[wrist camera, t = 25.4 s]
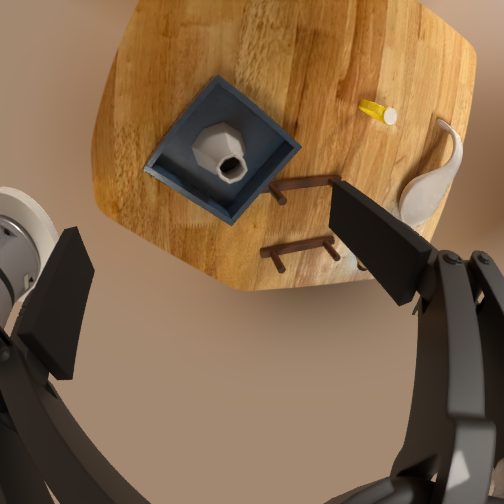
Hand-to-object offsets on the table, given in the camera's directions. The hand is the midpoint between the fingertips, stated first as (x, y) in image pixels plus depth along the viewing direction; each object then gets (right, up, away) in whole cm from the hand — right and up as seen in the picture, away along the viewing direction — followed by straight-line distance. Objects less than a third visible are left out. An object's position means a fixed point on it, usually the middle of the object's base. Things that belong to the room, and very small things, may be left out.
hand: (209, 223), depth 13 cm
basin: (-2, +13, +23) cm, 27 cm away
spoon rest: (+37, +15, +34) cm, 52 cm away
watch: (+20, +22, +24) cm, 39 cm away
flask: (-3, +13, +23) cm, 26 cm away
